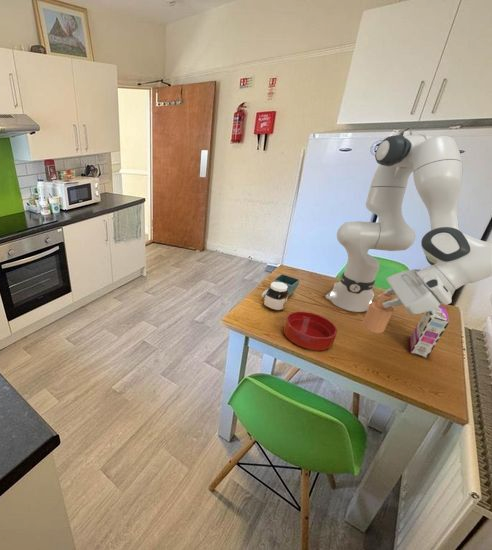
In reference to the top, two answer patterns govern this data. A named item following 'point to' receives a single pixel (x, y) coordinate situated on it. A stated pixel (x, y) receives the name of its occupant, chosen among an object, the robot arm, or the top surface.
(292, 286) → the flower pot
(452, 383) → the top surface
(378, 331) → the bottle
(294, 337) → the bowl
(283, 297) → the spread jar
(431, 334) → the candy bar box
